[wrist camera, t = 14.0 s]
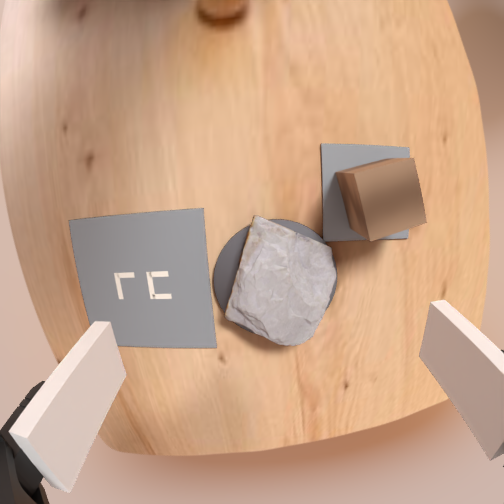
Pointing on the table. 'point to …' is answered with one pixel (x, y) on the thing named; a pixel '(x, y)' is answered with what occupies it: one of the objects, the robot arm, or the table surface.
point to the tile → (333, 205)
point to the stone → (281, 283)
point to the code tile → (147, 277)
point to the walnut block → (382, 197)
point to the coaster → (231, 256)
